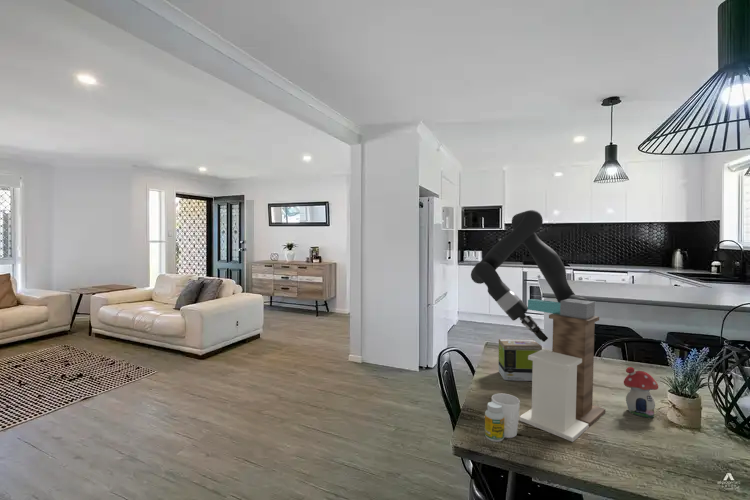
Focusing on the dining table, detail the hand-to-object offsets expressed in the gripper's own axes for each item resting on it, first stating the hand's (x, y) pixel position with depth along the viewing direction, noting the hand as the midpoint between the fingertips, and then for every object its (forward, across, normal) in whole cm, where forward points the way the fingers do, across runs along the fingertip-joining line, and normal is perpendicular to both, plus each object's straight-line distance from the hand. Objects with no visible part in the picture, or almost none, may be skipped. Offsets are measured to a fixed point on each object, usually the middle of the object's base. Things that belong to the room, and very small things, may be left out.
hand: (544, 339), depth 133 cm
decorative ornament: (+36, 0, -6) cm, 36 cm away
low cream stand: (+18, -18, +16) cm, 30 cm away
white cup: (+9, -27, +28) cm, 40 cm away
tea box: (+8, +20, +18) cm, 28 cm away
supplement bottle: (+8, -31, +31) cm, 45 cm away
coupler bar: (-5, -9, -9) cm, 14 cm away
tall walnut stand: (+21, -6, +10) cm, 24 cm away
